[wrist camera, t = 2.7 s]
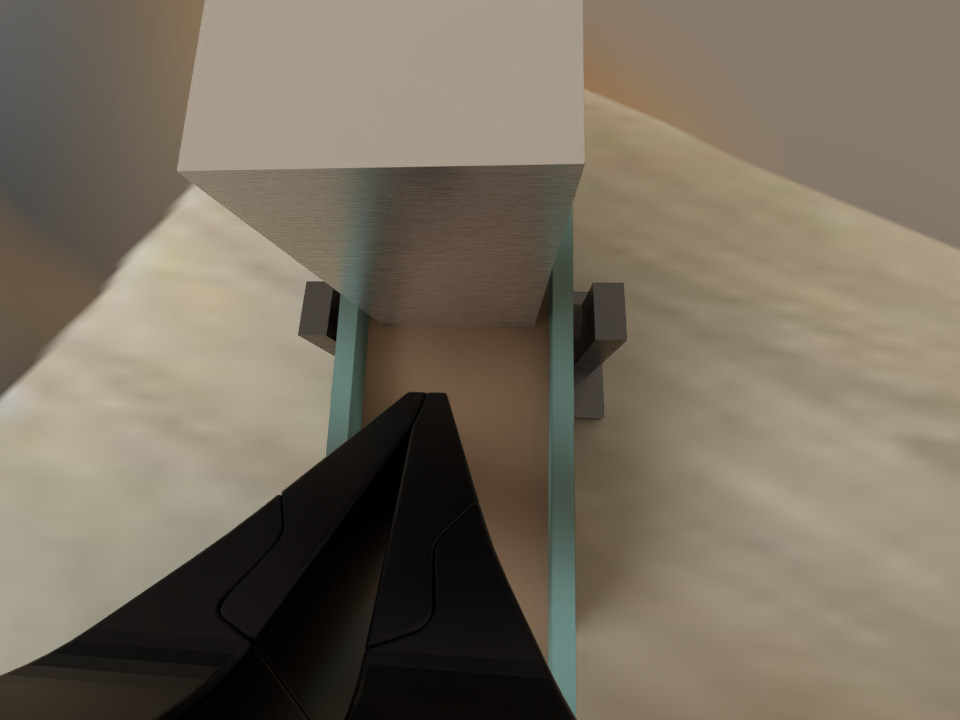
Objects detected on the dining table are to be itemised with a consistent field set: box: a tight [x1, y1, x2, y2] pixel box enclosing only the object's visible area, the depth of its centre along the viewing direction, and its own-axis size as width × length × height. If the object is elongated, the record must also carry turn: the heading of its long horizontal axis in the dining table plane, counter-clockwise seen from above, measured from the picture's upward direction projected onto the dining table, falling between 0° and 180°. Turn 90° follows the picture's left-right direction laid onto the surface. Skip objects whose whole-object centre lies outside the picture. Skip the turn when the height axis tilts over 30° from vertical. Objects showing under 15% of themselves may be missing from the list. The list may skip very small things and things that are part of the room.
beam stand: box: [298, 282, 627, 419], centre depth 16 cm, size 6×12×6 cm, turn 88°
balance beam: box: [326, 206, 583, 717], centre depth 14 cm, size 26×8×5 cm, turn 178°
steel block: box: [177, 0, 585, 328], centre depth 9 cm, size 5×5×8 cm
